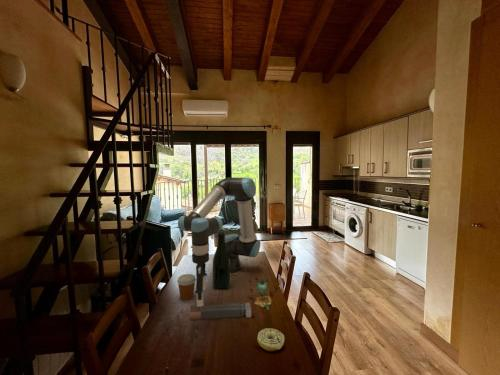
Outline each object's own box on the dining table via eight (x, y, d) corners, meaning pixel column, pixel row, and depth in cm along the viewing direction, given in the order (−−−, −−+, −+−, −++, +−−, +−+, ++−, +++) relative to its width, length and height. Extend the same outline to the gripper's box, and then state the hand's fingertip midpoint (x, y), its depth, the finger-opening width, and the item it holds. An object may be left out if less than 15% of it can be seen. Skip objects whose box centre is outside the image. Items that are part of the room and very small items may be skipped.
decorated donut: (284, 355, 91) (284, 345, 91) (256, 352, 92) (256, 343, 92) (284, 335, 102) (284, 327, 101) (258, 333, 103) (258, 325, 102)
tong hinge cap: (244, 309, 118) (244, 302, 118) (249, 309, 118) (249, 302, 118) (246, 318, 111) (246, 310, 111) (251, 318, 112) (251, 310, 111)
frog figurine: (253, 313, 117) (253, 282, 117) (252, 297, 135) (252, 270, 135) (273, 313, 117) (273, 282, 117) (269, 297, 135) (269, 270, 135)
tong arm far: (191, 313, 114) (190, 306, 114) (244, 309, 117) (244, 302, 117) (190, 316, 112) (190, 309, 112) (244, 312, 115) (244, 305, 115)
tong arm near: (190, 316, 112) (190, 309, 112) (244, 313, 115) (244, 306, 114) (189, 319, 110) (189, 312, 109) (245, 316, 112) (245, 309, 112)
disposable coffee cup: (174, 299, 128) (173, 277, 127) (189, 293, 135) (189, 272, 134) (184, 306, 122) (183, 283, 121) (199, 299, 129) (199, 277, 128)
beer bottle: (228, 281, 149) (228, 228, 146) (231, 290, 139) (231, 233, 136) (211, 283, 146) (211, 229, 143) (213, 292, 136) (213, 234, 133)
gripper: (195, 243, 122) (196, 284, 124) (188, 264, 97) (189, 314, 99) (210, 243, 123) (211, 283, 125) (207, 263, 98) (208, 313, 100)
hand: (201, 297), depth 112 cm, fingers open, 13 cm apart
